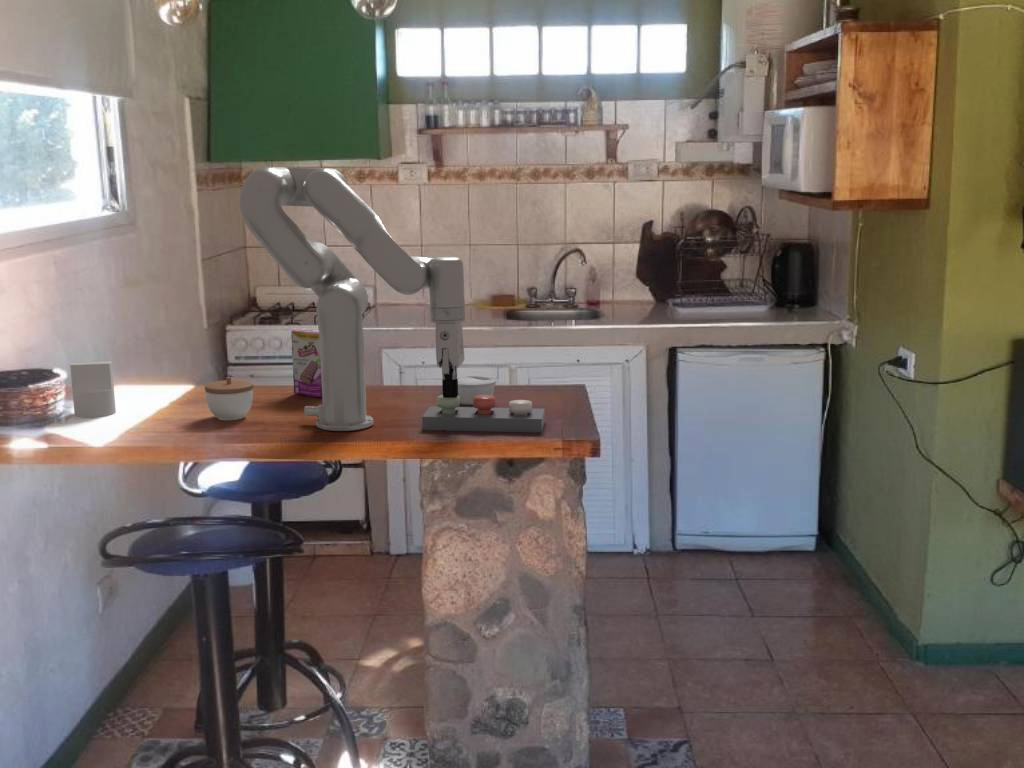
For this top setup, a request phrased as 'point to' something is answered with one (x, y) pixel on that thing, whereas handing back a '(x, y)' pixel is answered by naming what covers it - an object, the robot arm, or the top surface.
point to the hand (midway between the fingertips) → (450, 396)
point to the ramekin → (474, 388)
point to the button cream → (520, 407)
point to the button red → (484, 404)
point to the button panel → (483, 420)
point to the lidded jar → (229, 398)
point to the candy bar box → (306, 362)
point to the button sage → (448, 404)
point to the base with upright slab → (93, 389)
